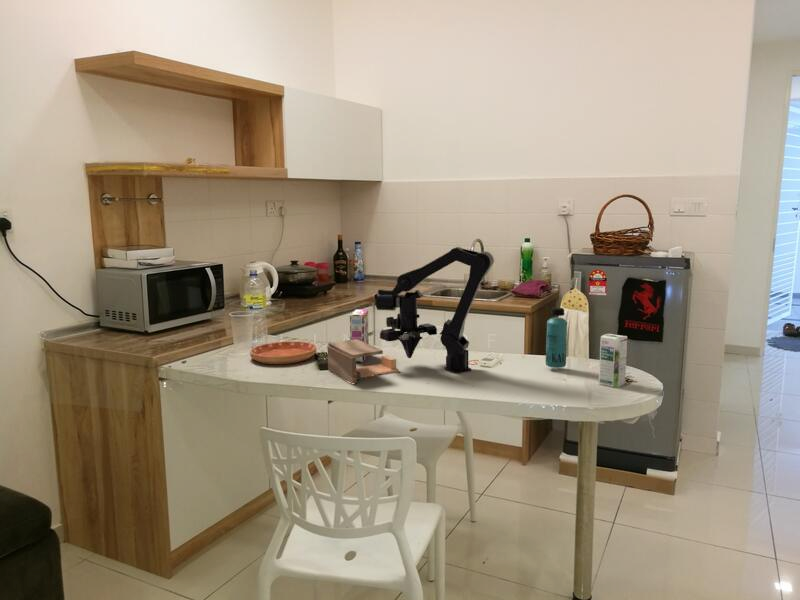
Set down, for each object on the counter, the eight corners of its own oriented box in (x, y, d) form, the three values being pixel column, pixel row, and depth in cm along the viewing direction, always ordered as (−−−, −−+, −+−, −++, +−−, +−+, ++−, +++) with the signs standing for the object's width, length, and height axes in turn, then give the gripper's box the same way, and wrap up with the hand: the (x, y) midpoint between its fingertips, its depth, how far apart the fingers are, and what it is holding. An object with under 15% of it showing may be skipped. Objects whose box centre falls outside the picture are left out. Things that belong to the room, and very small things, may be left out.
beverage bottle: (548, 365, 203) (550, 305, 200) (569, 368, 200) (570, 307, 197) (542, 370, 198) (543, 308, 195) (563, 373, 195) (564, 310, 191)
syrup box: (597, 384, 183) (599, 335, 181) (607, 379, 187) (609, 332, 185) (616, 388, 179) (618, 338, 177) (625, 383, 183) (628, 335, 181)
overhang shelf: (357, 365, 207) (356, 339, 206) (383, 378, 192) (382, 350, 191) (328, 370, 202) (327, 343, 201) (352, 384, 187) (351, 355, 185)
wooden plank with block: (385, 366, 208) (384, 354, 207) (398, 373, 200) (398, 360, 199) (346, 373, 201) (346, 360, 200) (359, 380, 193) (359, 366, 192)
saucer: (237, 359, 219) (236, 349, 218) (289, 347, 236) (289, 337, 235) (277, 371, 204) (276, 360, 203) (330, 356, 220) (329, 346, 220)
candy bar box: (365, 362, 211) (363, 315, 208) (350, 362, 212) (348, 315, 209) (369, 354, 222) (368, 308, 219) (355, 354, 222) (354, 308, 220)
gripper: (419, 304, 214) (420, 349, 217) (371, 310, 205) (372, 356, 208) (437, 309, 205) (438, 355, 207) (387, 315, 195) (389, 364, 198)
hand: (409, 357), depth 205 cm, fingers closed
